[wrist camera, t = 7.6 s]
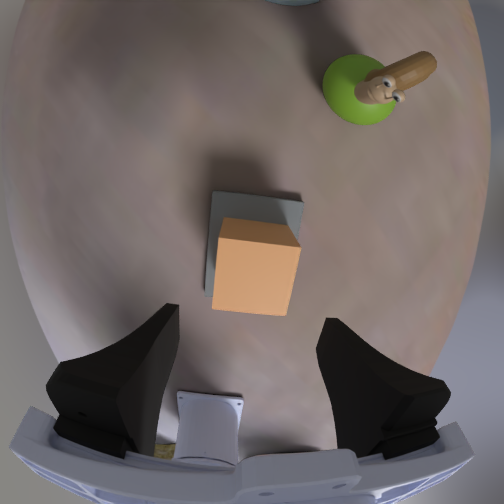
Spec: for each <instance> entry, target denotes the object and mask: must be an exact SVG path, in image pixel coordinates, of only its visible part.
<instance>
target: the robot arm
mask: <svg viewBox="0 0 504 504" xmlns="http://www.w3.org/2000/svg"><path fill="white" fill-rule="evenodd" d="M179 338H180V335H179V305H177V304H169V303H166V304H165V305H164V306H163V307H162V308H161V309H160V310H158V311H157V312H156V313H155V314H154V315H153V316H152V317H151V318H150V319H148V320H147V321H146V322H145V323H144V324H143V325H141V326H140V327H139V328H137V329H136V330H135V331H133V332H132V333H131V334H129V335H128V336H126V337H125V338H123V339H121V340H120V341H118V342H116V343H114V344H112V345H110V346H108V347H106V348H104V349H102V350H100V351H97V352H95V353H92V354H89V355H86V356H83V357H80V358H76V359H72V360H68V361H63V362H60V364H59V365H58V367H57V368H56V369H55V371H54V372H53V374H52V376H51V377H50V379H49V381H48V382H47V384H46V391H47V393H48V395H49V398H50V399H51V401H52V403H53V404H54V406H55V408H56V410H57V411H58V413H59V414H60V415H59V417H58V419H57V420H56V419H55V418H53V417H52V416H51V415H49V414H47V413H45V412H43V411H40V410H39V409H36V408H35V407H33V406H30V407H29V409H28V411H27V413H26V414H25V416H24V418H23V420H22V422H21V424H20V426H19V427H18V429H17V431H16V433H15V435H14V437H13V439H12V441H11V444H10V445H9V448H10V450H11V451H12V452H14V454H16V456H17V457H19V458H20V459H21V460H22V461H23V462H24V463H25V464H26V465H27V466H28V467H29V468H31V469H32V470H33V471H34V472H35V473H36V474H38V475H40V476H41V477H43V478H45V479H47V480H49V481H50V482H52V483H54V484H56V485H58V486H60V487H62V488H64V489H66V490H68V491H70V492H72V493H75V494H77V495H79V496H81V497H83V498H85V499H88V500H90V501H92V502H95V503H97V504H395V503H397V502H399V501H402V500H404V499H406V498H409V497H411V496H413V495H415V494H418V493H419V492H422V491H424V490H426V489H428V488H430V487H432V486H434V485H436V484H438V483H440V482H442V481H443V480H445V479H447V478H448V477H449V476H451V475H452V474H453V473H455V472H456V471H457V470H458V469H460V468H461V467H462V466H464V465H465V464H466V463H467V462H468V461H469V460H471V459H472V458H473V457H474V456H475V454H474V452H473V450H472V448H471V446H470V444H469V443H468V441H467V439H466V437H465V435H464V434H463V432H462V430H461V428H460V427H459V425H458V423H457V422H453V423H451V424H448V425H446V426H443V427H441V428H440V429H438V430H436V428H435V426H436V425H437V421H436V419H435V417H436V416H437V415H438V414H439V413H440V411H441V410H442V409H443V408H444V407H445V405H446V404H447V402H448V401H449V398H450V396H451V392H450V390H449V388H448V387H447V385H446V384H445V382H444V381H443V380H439V379H436V378H432V377H429V376H425V375H423V374H420V373H417V372H415V371H412V370H410V369H408V368H406V367H404V366H402V365H400V364H398V363H396V362H394V361H393V360H391V359H389V358H388V357H386V356H384V355H383V354H381V353H380V352H379V351H377V350H376V349H374V348H373V347H372V346H370V345H369V344H368V343H367V342H365V341H364V340H363V339H362V338H361V337H359V336H358V335H357V334H356V333H355V332H354V331H352V330H351V329H350V328H349V327H348V326H347V325H345V324H344V323H343V322H342V321H340V320H339V319H338V318H326V320H325V323H324V326H323V329H322V332H321V335H320V338H319V341H318V344H317V346H316V353H317V359H318V364H319V368H320V371H321V374H322V377H323V380H324V383H325V386H326V389H327V392H328V395H329V398H330V401H331V405H332V410H333V416H334V422H335V429H336V436H337V447H338V449H332V450H324V451H315V452H303V453H286V454H266V455H256V456H252V457H249V458H246V459H243V460H242V461H241V462H240V463H239V464H238V429H239V423H240V418H241V413H242V408H243V403H244V399H243V398H241V397H230V396H218V395H208V394H200V393H192V392H184V391H178V392H177V401H178V410H179V418H180V421H179V427H178V433H177V439H176V446H175V452H174V458H172V460H166V459H160V458H155V457H154V449H155V440H156V433H157V426H158V419H159V413H160V408H161V403H162V397H163V394H164V390H165V387H166V384H167V381H168V378H169V375H170V372H171V369H172V366H173V363H174V360H175V357H176V353H177V348H178V343H179Z"/></svg>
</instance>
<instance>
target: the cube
mask: <svg viewBox="0 0 504 504" xmlns="http://www.w3.org/2000/svg"><path fill="white" fill-rule="evenodd" d="M300 252H301V246H300V245H299V243H298V241H297V239H296V238H295V236H294V234H293V233H292V231H291V229H290V228H289V226H288V225H282V224H275V223H267V222H260V221H252V220H244V219H236V218H227V217H224V218H223V222H222V226H221V230H220V234H219V239H218V249H217V259H216V269H215V280H214V291H213V303H212V309H217V310H226V311H235V312H245V313H255V314H266V315H278V316H286V313H287V308H288V304H289V300H290V296H291V292H292V288H293V283H294V279H295V274H296V270H297V266H298V261H299V256H300Z"/></svg>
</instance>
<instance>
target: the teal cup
mask: <svg viewBox="0 0 504 504" xmlns="http://www.w3.org/2000/svg"><path fill="white" fill-rule="evenodd" d="M265 1H269V2H272V3H276V4H281V5H291V6H301V5H308V4H311V3H316V2H318V1H319V0H265Z"/></svg>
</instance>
